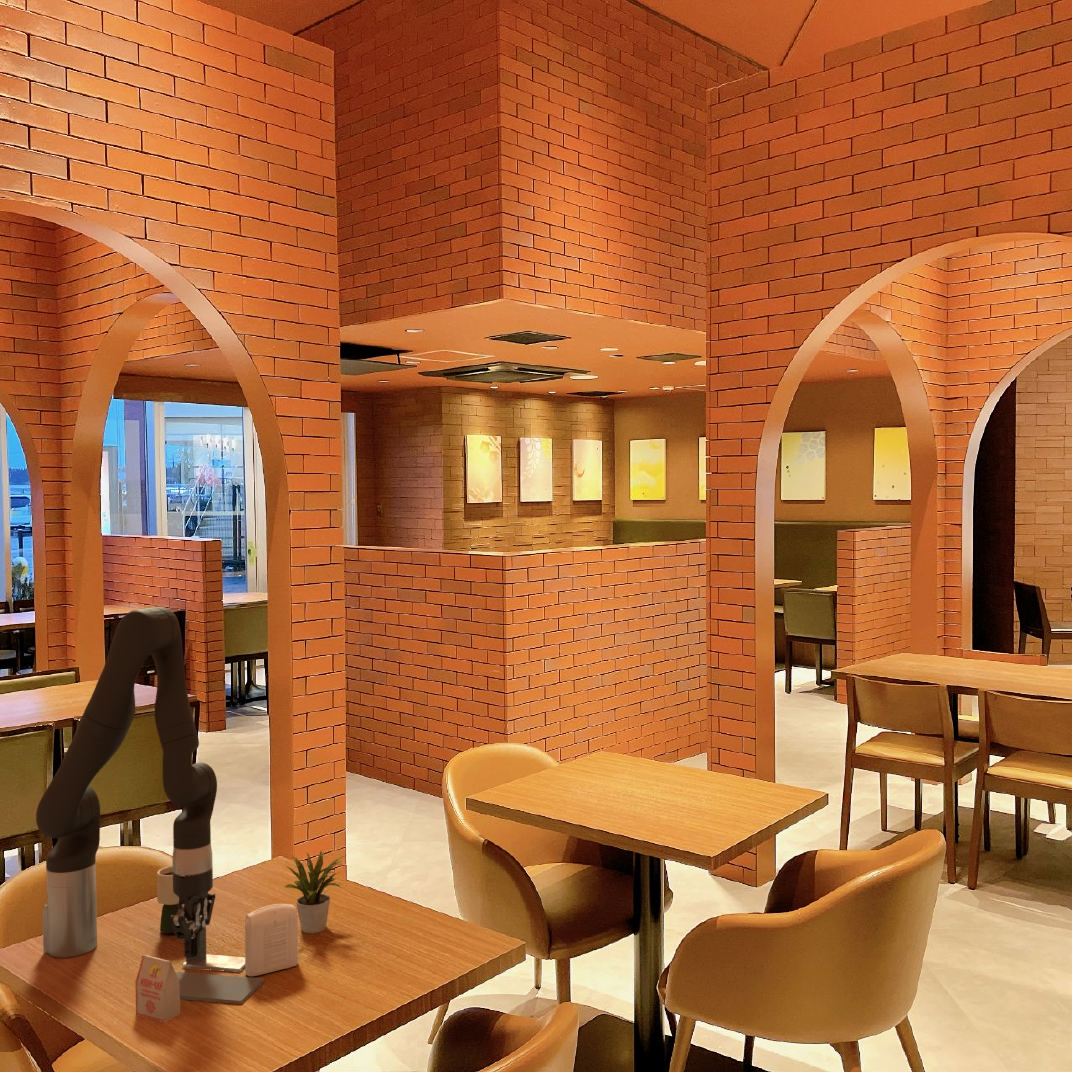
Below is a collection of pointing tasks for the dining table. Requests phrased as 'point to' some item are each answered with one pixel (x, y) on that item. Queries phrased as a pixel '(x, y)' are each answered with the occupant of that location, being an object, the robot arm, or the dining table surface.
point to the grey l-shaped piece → (211, 957)
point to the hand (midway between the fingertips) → (194, 953)
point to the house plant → (313, 894)
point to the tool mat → (216, 987)
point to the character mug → (166, 898)
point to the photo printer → (271, 939)
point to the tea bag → (157, 989)
